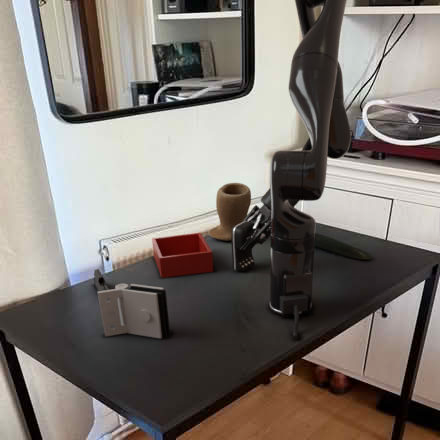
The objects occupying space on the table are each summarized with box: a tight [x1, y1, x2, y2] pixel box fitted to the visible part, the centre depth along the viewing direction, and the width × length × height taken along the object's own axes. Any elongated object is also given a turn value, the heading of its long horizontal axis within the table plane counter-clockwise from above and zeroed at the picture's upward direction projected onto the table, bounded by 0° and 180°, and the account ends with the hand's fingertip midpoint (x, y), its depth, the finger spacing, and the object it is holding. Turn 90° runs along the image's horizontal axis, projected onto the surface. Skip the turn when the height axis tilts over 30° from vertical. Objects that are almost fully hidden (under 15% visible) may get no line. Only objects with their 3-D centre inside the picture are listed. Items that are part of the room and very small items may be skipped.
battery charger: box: [231, 221, 257, 272], centre depth 143 cm, size 7×4×11 cm, turn 143°
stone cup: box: [208, 182, 252, 242], centre depth 164 cm, size 15×12×15 cm
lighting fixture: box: [93, 268, 110, 302], centre depth 134 cm, size 19×3×4 cm, turn 22°
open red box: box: [151, 232, 214, 279], centre depth 150 cm, size 16×14×5 cm
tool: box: [314, 232, 373, 261], centre depth 153 cm, size 28×6×7 cm, turn 47°
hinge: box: [97, 283, 171, 340], centre depth 118 cm, size 14×5×10 cm, turn 81°
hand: (239, 247), depth 143 cm, fingers closed on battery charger, 6 cm apart
